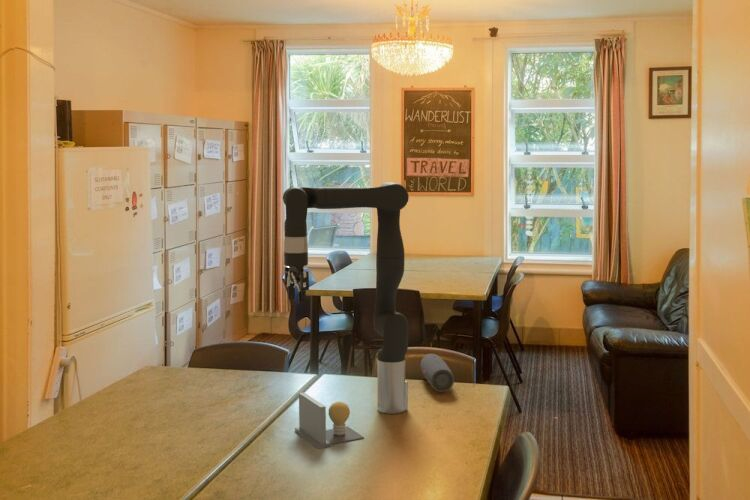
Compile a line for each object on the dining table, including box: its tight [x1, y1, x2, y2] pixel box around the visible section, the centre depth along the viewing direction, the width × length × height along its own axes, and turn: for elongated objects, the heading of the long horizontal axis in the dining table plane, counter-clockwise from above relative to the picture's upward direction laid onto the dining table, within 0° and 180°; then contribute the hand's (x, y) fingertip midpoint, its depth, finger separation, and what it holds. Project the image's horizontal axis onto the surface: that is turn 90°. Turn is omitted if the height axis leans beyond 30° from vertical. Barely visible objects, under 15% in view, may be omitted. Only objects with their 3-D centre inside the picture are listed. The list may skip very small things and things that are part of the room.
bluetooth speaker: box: [420, 353, 455, 393], centre depth 290 cm, size 23×9×10 cm, turn 6°
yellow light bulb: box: [328, 401, 351, 436], centre depth 239 cm, size 6×6×10 cm
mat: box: [326, 425, 365, 446], centre depth 239 cm, size 11×11×1 cm
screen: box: [294, 391, 331, 449], centre depth 237 cm, size 4×17×12 cm, turn 28°
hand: (296, 301), depth 252 cm, fingers open, 8 cm apart
